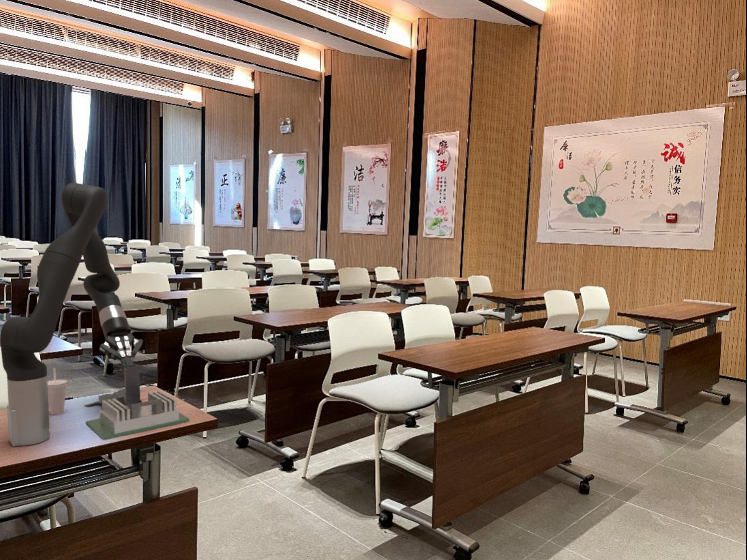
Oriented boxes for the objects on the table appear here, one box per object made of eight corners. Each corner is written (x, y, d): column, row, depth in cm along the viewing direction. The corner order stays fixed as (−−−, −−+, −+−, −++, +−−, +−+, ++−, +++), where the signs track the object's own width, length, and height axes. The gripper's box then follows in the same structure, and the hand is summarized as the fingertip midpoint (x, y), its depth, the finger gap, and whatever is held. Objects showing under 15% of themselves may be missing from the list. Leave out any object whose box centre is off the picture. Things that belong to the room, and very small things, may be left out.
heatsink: (103, 439, 159) (102, 410, 158) (85, 423, 171) (84, 396, 171) (189, 421, 174) (188, 394, 173) (167, 407, 187) (166, 383, 186)
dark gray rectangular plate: (125, 406, 174) (124, 367, 172) (124, 405, 174) (123, 367, 173) (141, 403, 176) (139, 365, 175) (139, 402, 177) (138, 364, 176)
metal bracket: (147, 382, 196) (109, 393, 183) (151, 400, 196) (113, 412, 182) (119, 389, 203) (80, 400, 189) (123, 406, 202) (84, 418, 189)
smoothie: (64, 408, 186) (62, 364, 185) (71, 413, 181) (69, 368, 180) (42, 413, 181) (40, 368, 180) (49, 417, 177) (46, 371, 176)
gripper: (94, 317, 178) (108, 365, 170) (138, 313, 186) (154, 358, 178) (89, 332, 182) (103, 379, 174) (133, 328, 191) (148, 372, 183)
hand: (129, 368), depth 176 cm, fingers closed
